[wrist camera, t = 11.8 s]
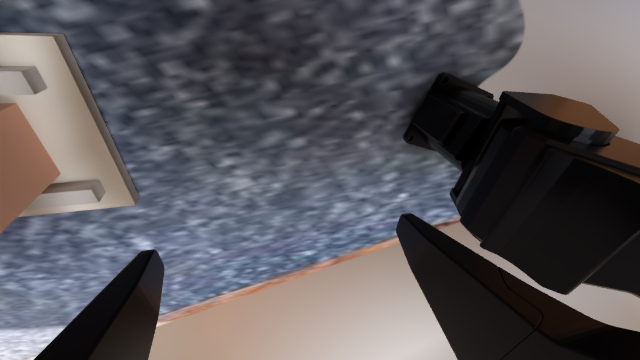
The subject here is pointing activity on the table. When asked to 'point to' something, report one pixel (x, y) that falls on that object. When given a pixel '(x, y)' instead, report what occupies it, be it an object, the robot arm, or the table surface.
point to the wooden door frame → (63, 124)
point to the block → (20, 164)
